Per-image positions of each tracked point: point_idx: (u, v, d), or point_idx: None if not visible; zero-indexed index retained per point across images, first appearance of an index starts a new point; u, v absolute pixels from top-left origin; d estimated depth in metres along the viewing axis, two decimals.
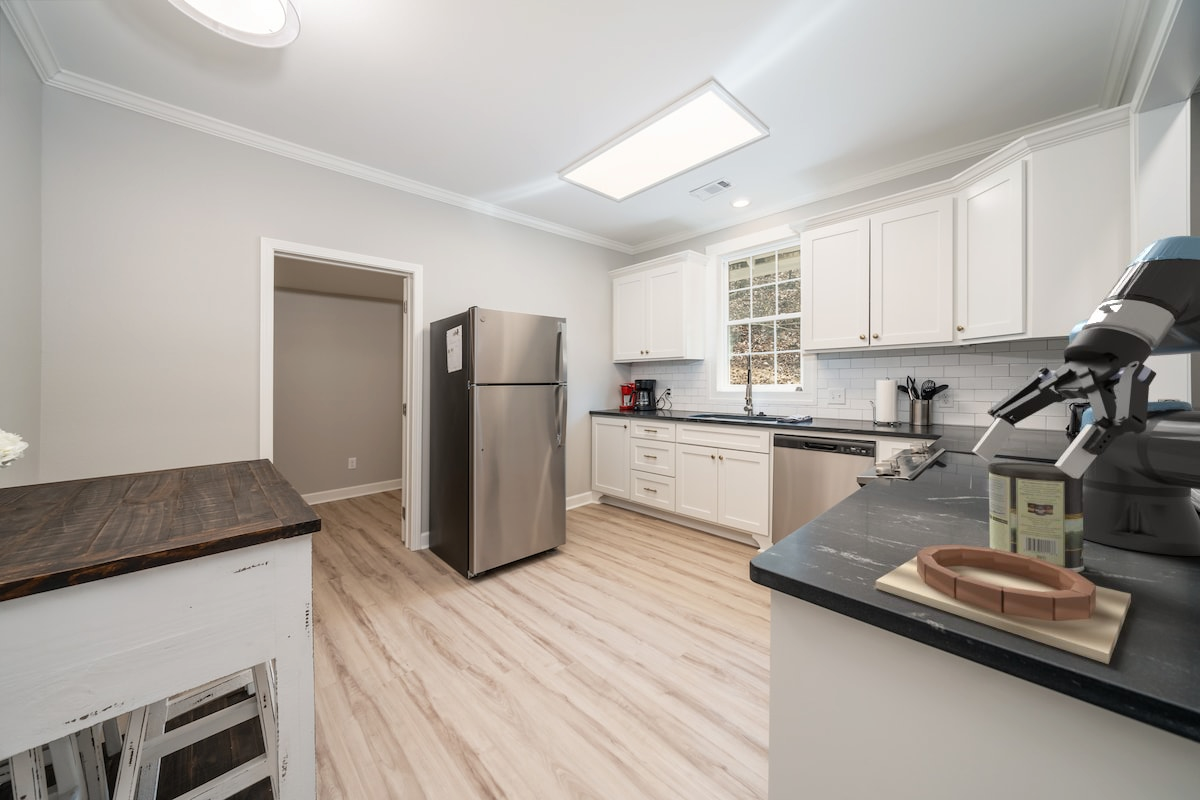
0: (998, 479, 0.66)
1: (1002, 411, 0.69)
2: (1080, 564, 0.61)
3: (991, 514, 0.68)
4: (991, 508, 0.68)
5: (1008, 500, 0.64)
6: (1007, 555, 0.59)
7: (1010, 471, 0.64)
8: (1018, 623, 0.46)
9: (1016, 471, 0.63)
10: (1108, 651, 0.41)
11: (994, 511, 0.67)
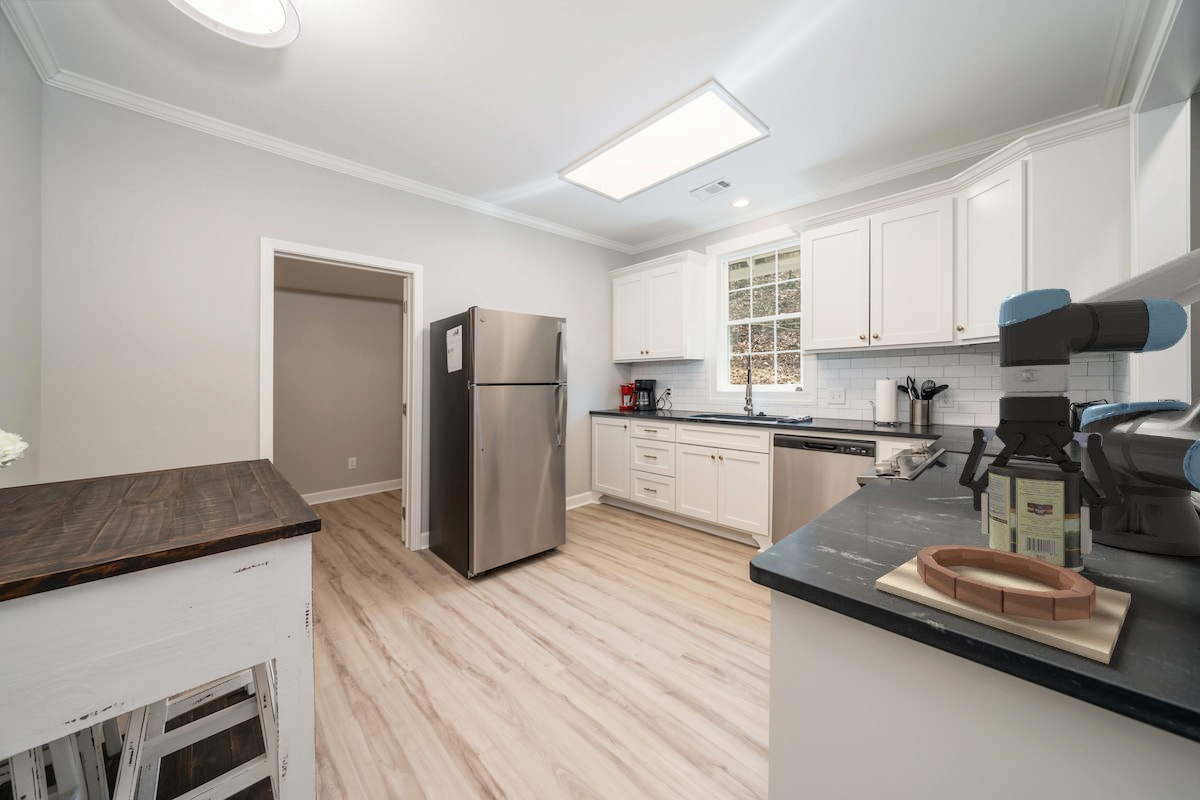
0: (998, 479, 0.66)
1: (979, 484, 0.70)
2: (1080, 564, 0.61)
3: (991, 514, 0.68)
4: (991, 507, 0.68)
5: (1007, 500, 0.64)
6: (1007, 555, 0.59)
7: (1010, 471, 0.64)
8: (1018, 623, 0.46)
9: (1016, 471, 0.63)
10: (1108, 651, 0.41)
11: (994, 511, 0.67)
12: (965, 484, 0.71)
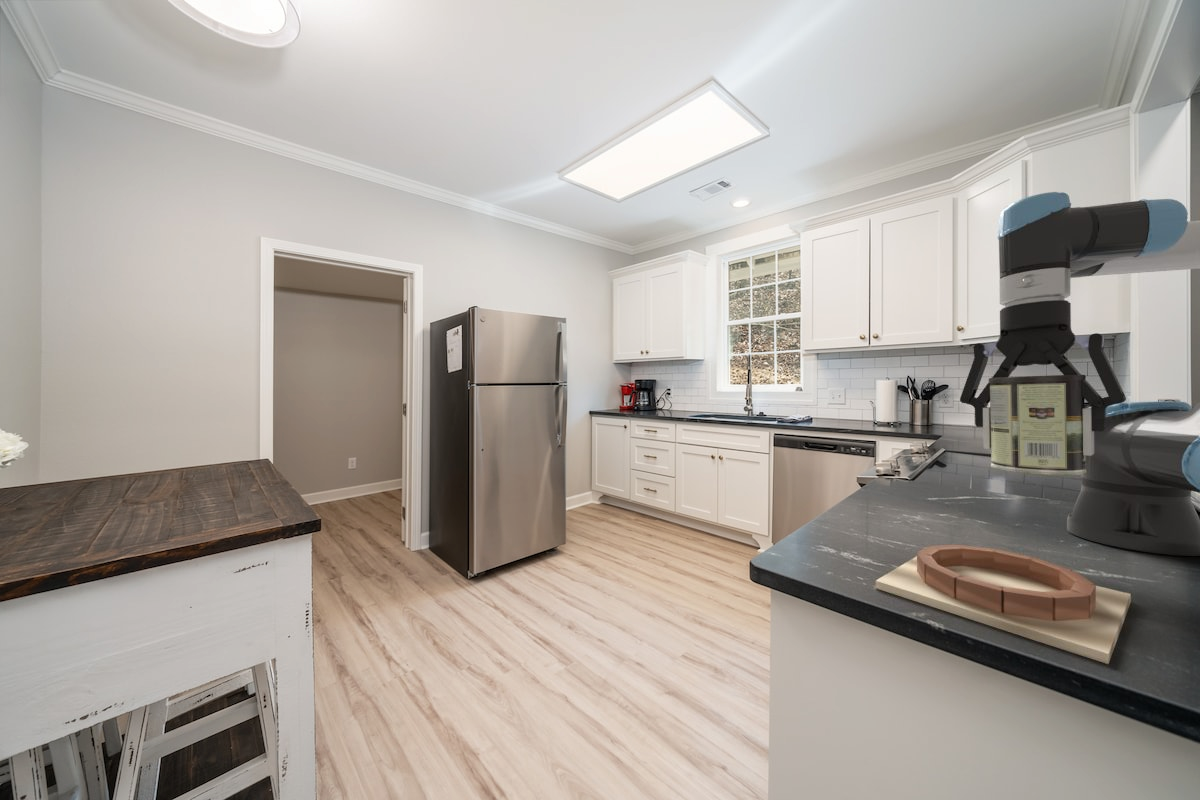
0: (999, 389, 0.66)
1: (980, 399, 0.69)
2: (1082, 467, 0.61)
3: (992, 426, 0.67)
4: (992, 420, 0.67)
5: (1009, 408, 0.64)
6: (1007, 555, 0.59)
7: (1011, 378, 0.64)
8: (1018, 623, 0.46)
9: (1017, 377, 0.63)
10: (1108, 651, 0.41)
11: (996, 422, 0.66)
12: (966, 401, 0.71)
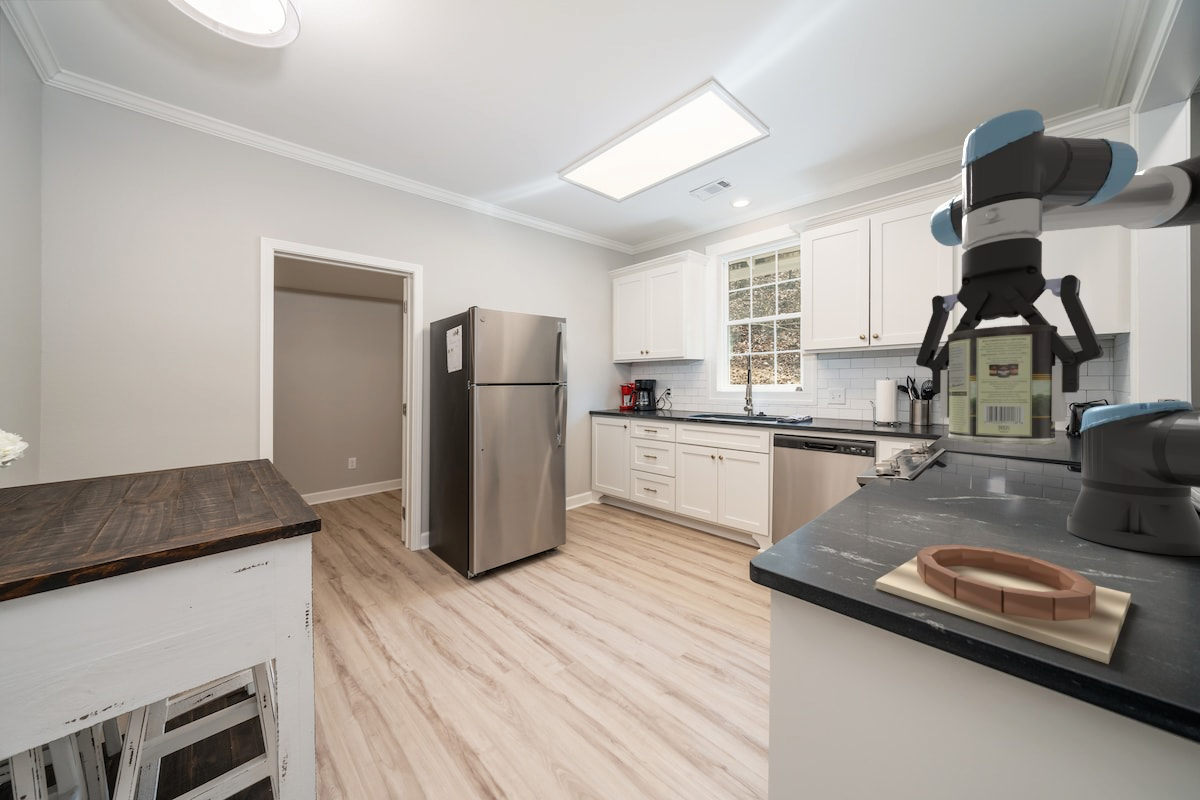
0: (957, 345, 0.56)
1: (938, 360, 0.60)
2: (1050, 435, 0.51)
3: (950, 390, 0.58)
4: (950, 383, 0.58)
5: (967, 366, 0.54)
6: (1007, 555, 0.59)
7: (970, 331, 0.54)
8: (1018, 623, 0.46)
9: (977, 329, 0.53)
10: (1108, 651, 0.41)
11: (953, 385, 0.57)
12: (923, 363, 0.61)
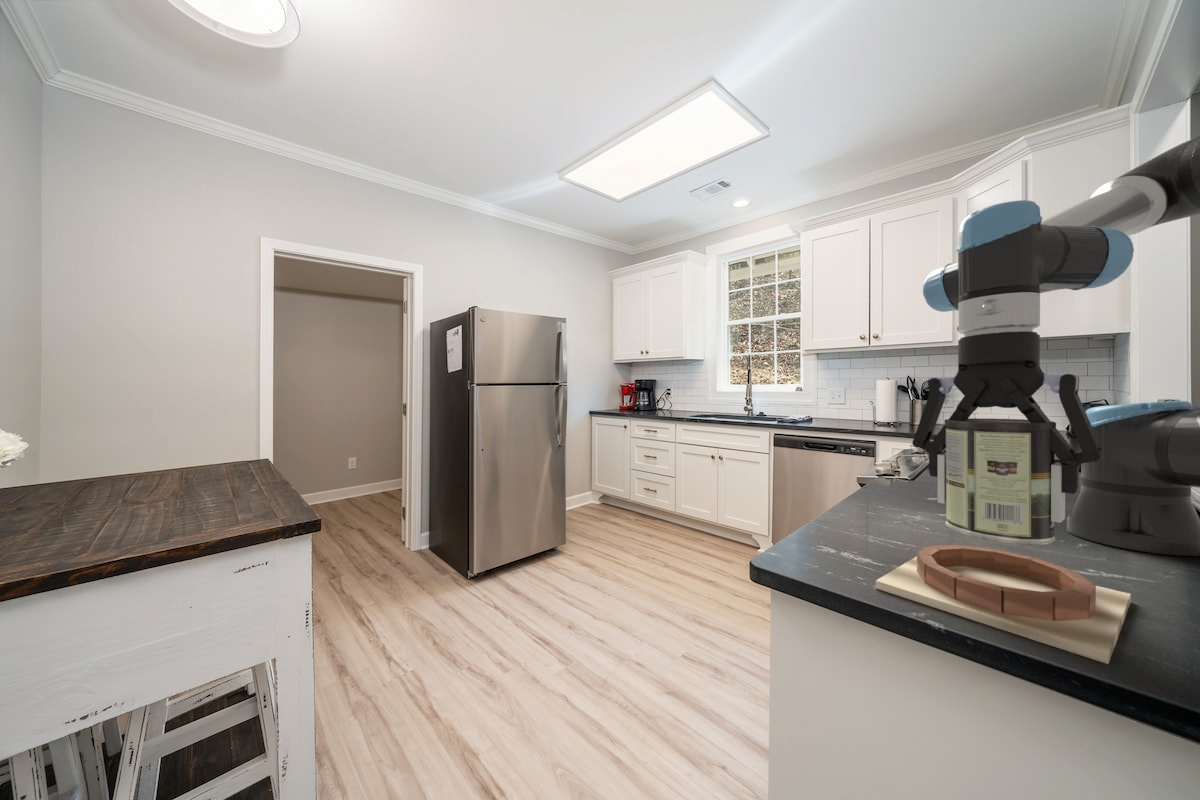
0: (954, 435, 0.55)
1: (935, 444, 0.59)
2: (1050, 535, 0.50)
3: (947, 478, 0.56)
4: (947, 470, 0.57)
5: (965, 459, 0.53)
6: (1007, 555, 0.59)
7: (967, 423, 0.53)
8: (1018, 623, 0.46)
9: (974, 423, 0.52)
10: (1108, 651, 0.41)
11: (951, 474, 0.56)
12: (919, 445, 0.60)
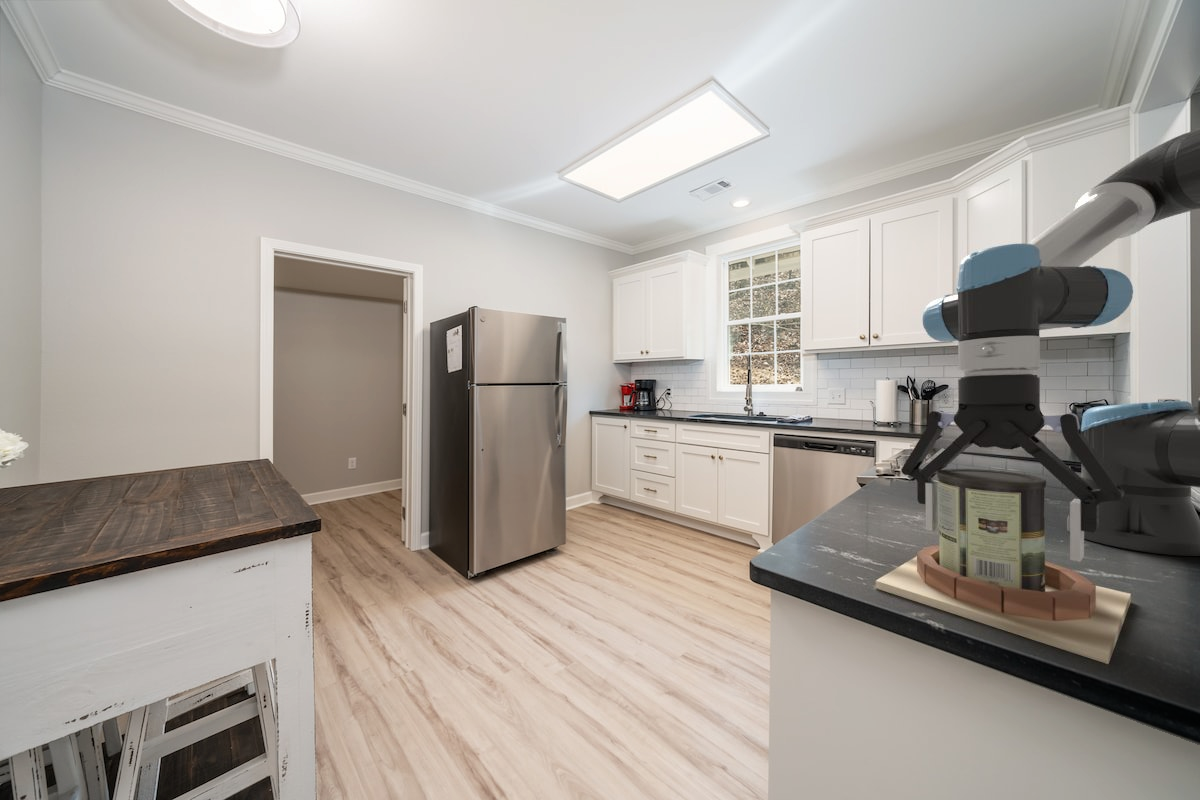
0: (947, 489, 0.56)
1: (924, 472, 0.60)
2: None
3: (940, 530, 0.57)
4: (940, 522, 0.57)
5: (957, 514, 0.54)
6: None
7: (959, 480, 0.54)
8: (1018, 623, 0.46)
9: (965, 480, 0.53)
10: (1108, 651, 0.41)
11: (943, 527, 0.56)
12: (908, 473, 0.61)
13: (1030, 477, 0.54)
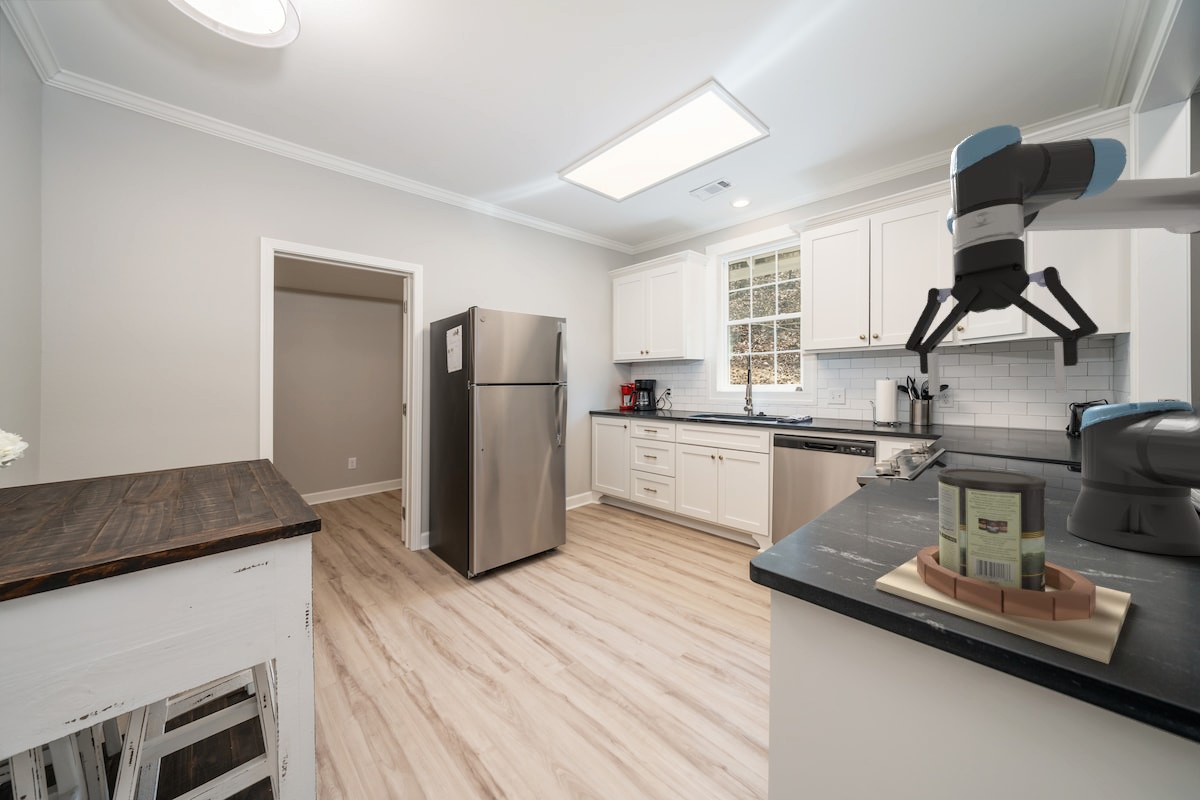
0: (946, 489, 0.56)
1: (925, 344, 0.67)
2: None
3: (940, 530, 0.57)
4: (940, 522, 0.57)
5: (957, 514, 0.54)
6: None
7: (959, 480, 0.54)
8: (1018, 623, 0.46)
9: (965, 480, 0.53)
10: (1108, 651, 0.41)
11: (943, 527, 0.56)
12: (911, 348, 0.69)
13: (1030, 477, 0.54)
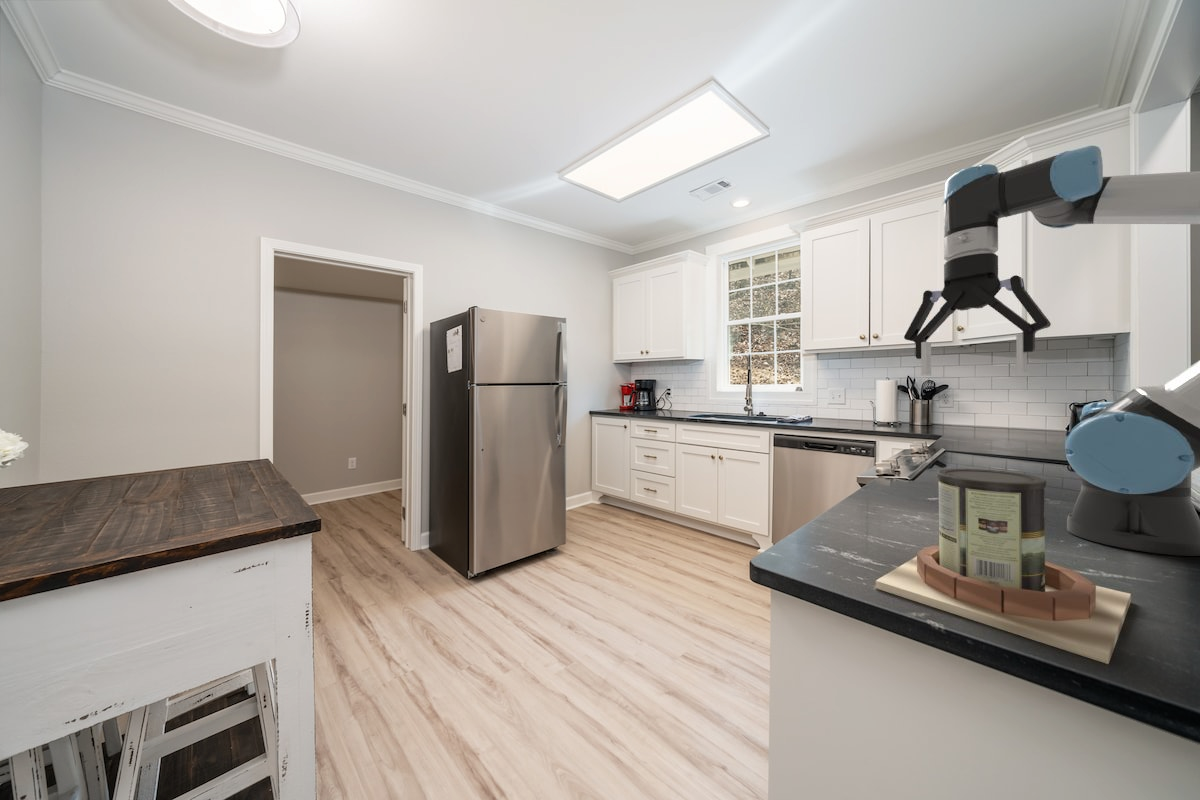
0: (946, 489, 0.56)
1: (920, 335, 0.84)
2: None
3: (940, 530, 0.57)
4: (940, 522, 0.57)
5: (957, 514, 0.54)
6: None
7: (959, 480, 0.54)
8: (1018, 623, 0.46)
9: (965, 480, 0.53)
10: (1108, 651, 0.41)
11: (943, 527, 0.56)
12: (908, 338, 0.86)
13: (1030, 477, 0.54)
